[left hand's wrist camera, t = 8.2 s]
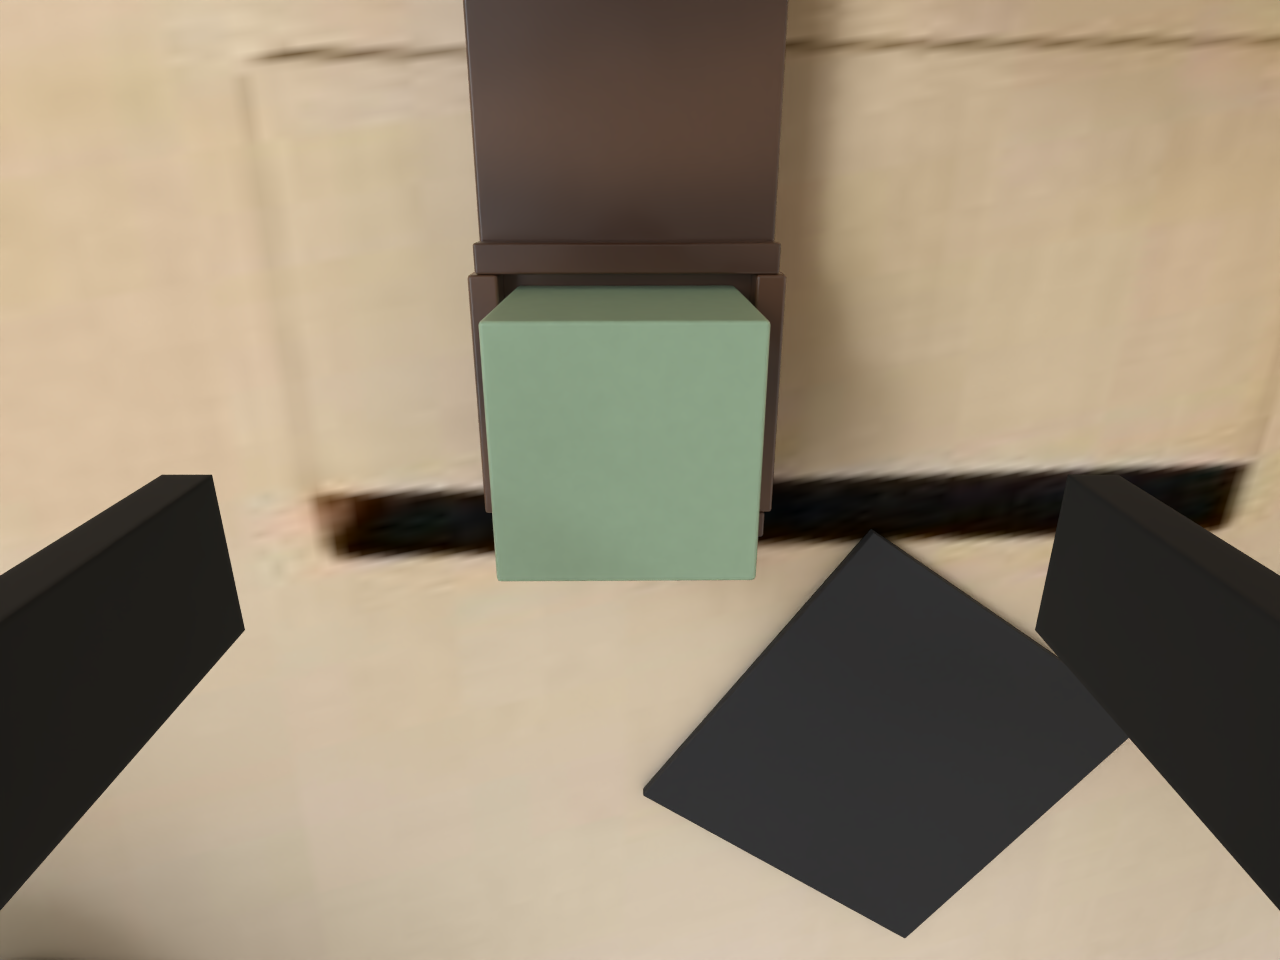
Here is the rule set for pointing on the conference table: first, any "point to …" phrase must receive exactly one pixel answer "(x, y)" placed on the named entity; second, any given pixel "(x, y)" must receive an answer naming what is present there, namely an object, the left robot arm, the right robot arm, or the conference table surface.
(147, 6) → the conference table surface
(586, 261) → the walnut board
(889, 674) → the rubber mat
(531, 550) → the green block
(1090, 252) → the conference table surface
